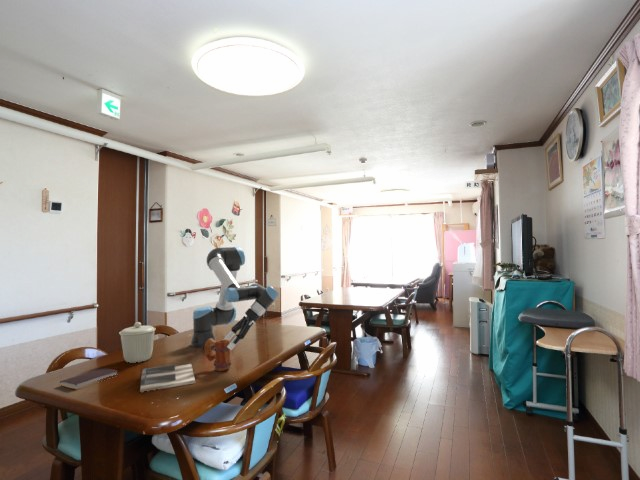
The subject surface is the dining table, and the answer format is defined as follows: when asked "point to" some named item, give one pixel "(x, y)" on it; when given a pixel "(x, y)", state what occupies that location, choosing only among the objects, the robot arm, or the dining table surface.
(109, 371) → the book
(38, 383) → the dining table surface
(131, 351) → the canister
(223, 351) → the mug
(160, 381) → the notched board
